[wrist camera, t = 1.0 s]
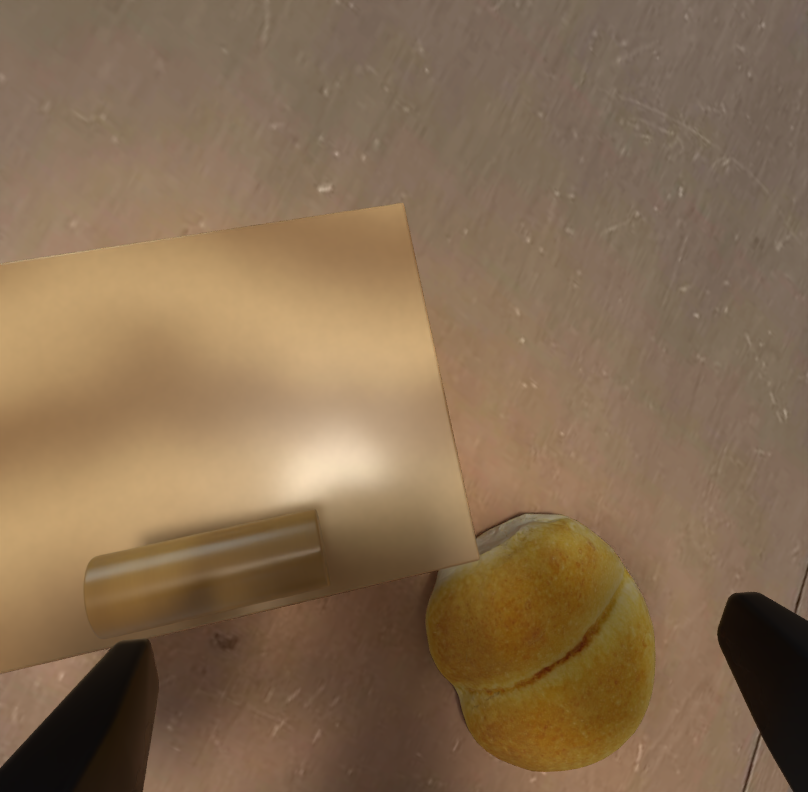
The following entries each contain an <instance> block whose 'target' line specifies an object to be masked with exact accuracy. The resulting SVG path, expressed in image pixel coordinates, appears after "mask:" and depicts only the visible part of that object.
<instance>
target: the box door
mask: <svg viewBox="0 0 808 792" xmlns="http://www.w3.org/2000/svg"><path fill="white" fill-rule="evenodd" d="M478 560H480V556H479V551H478V546H477V542H476V537H475V532H474V528H473V523H472V518H471V514H470V509H469V504H468V500H467V495H466V490H465V486H464V481H463V477H462V472H461V467H460V463H459V458H458V453H457V449H456V444H455V439H454V435H453V430H452V425H451V421H450V416H449V411H448V407H447V402H446V397H445V393H444V388H443V384H442V379H441V374H440V370H439V365H438V360H437V356H436V351H435V346H434V342H433V337H432V332H431V328H430V323H429V318H428V314H427V309H426V304H425V300H424V295H423V291H422V286H421V281H420V277H419V272H418V267H417V263H416V258H415V253H414V249H413V244H412V239H411V235H410V230H409V225H408V221H407V216H406V211H405V207H404V204H403V203H399V204H392V205H385V206H379V207H372V208H365V209H359V210H352V211H346V212H339V213H332V214H326V215H319V216H312V217H306V218H299V219H292V220H286V221H279V222H273V223H266V224H259V225H253V226H246V227H239V228H233V229H226V230H220V231H213V232H206V233H200V234H193V235H186V236H180V237H173V238H166V239H160V240H153V241H147V242H140V243H133V244H127V245H120V246H113V247H107V248H100V249H94V250H87V251H80V252H74V253H67V254H60V255H54V256H47V257H40V258H34V259H27V260H21V261H14V262H7V263H1V264H0V674H2V673H7V672H11V671H15V670H19V669H24V668H28V667H32V666H36V665H40V664H45V663H49V662H53V661H57V660H62V659H66V658H70V657H74V656H78V655H83V654H87V653H91V652H95V651H100V650H104V649H108V648H112V647H113V646H114V645H115V644H116V643H117V642H119V641H121V640H129V639H142V638H145V639H150V638H154V637H159V636H163V635H167V634H171V633H176V632H180V631H184V630H188V629H192V628H197V627H201V626H205V625H209V624H214V623H218V622H222V621H226V620H230V619H235V618H239V617H243V616H247V615H252V614H256V613H260V612H264V611H268V610H273V609H277V608H281V607H285V606H290V605H294V604H298V603H302V602H306V601H311V600H315V599H319V598H323V597H328V596H332V595H336V594H340V593H344V592H349V591H353V590H357V589H361V588H366V587H370V586H374V585H378V584H382V583H387V582H391V581H395V580H399V579H404V578H408V577H412V576H416V575H420V574H425V573H429V572H433V571H437V570H442V569H446V568H450V567H454V566H458V565H463V564H467V563H471V562H475V561H478Z"/></svg>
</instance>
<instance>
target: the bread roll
mask: <svg viewBox="0 0 808 792" xmlns="http://www.w3.org/2000/svg"><path fill="white" fill-rule="evenodd" d="M476 542H477V546H478V551H479V556H480V560H478V561H475V562H471V563H467V564H463V565H458V566H454V567H450V568H446V569H442V570H438V574H437V579H436V582H435V586H434V589H433V591H432V594H431V597H430V600H429V602H428V606H427V611H426V618H425V619H426V632H427V638H428V645H429V649H430V653H431V656H432V658H433V660H434V662H435V664H436V666H437V668H438V670H439V671H440V672H441V673H442V674H443V676H444V677H445V678H446V679H447V680H448V681H449V682H450V683H452V684H453V686H454V687H455V689H456V691H457V693H458V696H459V699H460V703H461V708H462V712H463V715H464V718H465V721H466V724H467V727H468V729H469V731H470V733H471V734H472V736H473V737H474V739H475V740H476V742H477V743H478V744H479V745H480V746H481V747H483V748H484V749H485V750H486V751H487V752H488V753H490V754H492V755H493V756H495V757H496V758H498V759H500V760H502V761H505V762H507V763H510V764H512V765H515V766H518V767H521V768H524V769H527V770H531V771H539V772H552V771H565V770H572V769H577V768H581V767H585V766H588V765H591V764H593V763H596V762H598V761H600V760H602V759H604V758H606V757H607V756H609V755H611V754H612V753H613V752H615V751H616V750H618V749H619V748H620V747H621V746H622V745H623V744H624V743H625V742H626V741H627V740H628V739H629V738H630V737H631V736H632V735H633V734H634V732H635V731H636V729H637V728H638V726H639V724H640V723H641V721H642V719H643V717H644V715H645V712H646V710H647V708H648V705H649V701H650V698H651V695H652V690H653V684H654V676H655V639H654V630H653V624H652V621H651V618H650V615H649V611H648V608H647V605H646V603H645V600H644V598H643V596H642V594H641V592H640V591H639V589H638V587H637V585H636V583H635V582H634V580H633V579H632V577H631V576H630V575H629V573H628V572H627V570H626V568H625V567H624V565H623V563H622V562H621V560H620V559H619V557H618V556H617V555H616V553H615V552H614V550H613V549H612V548H611V547H610V546H609V545H608V544H607V543H605V542H604V541H603V540H602V539H601V538H600V537H598V536H597V535H596V534H595V533H593V532H592V531H591V530H590V529H588V528H587V527H586V526H584V525H583V524H581V523H580V522H578V521H577V520H573V519H571V518H569V517H567V516H564V515H550V514H523V515H521V516H519V517H516V518H514V519H512V520H509V521H507V522H505V523H503V524H501V525H499V526H496V527H494V528H492V529H490V530H488V531H486V532H484V533H483V534H481V535H480V536H479V537H477V538H476Z"/></svg>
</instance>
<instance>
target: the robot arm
mask: <svg viewBox="0 0 808 792" xmlns="http://www.w3.org/2000/svg"><path fill="white" fill-rule="evenodd" d="M717 636H718V641H719V645H720V647H721V650H722V652H723V654H724V656H725V658H726V660H727V663H728V665H729V667H730V669H731V671H732V673H733V676H734V678H735V680H736V682H737V684H738V686H739V689H740V691H741V693H742V695H743V697H744V699H745V702H746V704H747V706H748V708H749V710H750V712H751V715H752V717H753V719H754V721H755V723H756V725H757V727H758V729H759V731H760V733H761V735H762V737H763V739H764V741H765V743H766V745H767V747H768V749H769V750H770V752H771V754H772V756H773V758H774V759H775V761H776V763H777V764H778V766H779V768H780V770H781V771H782V773H783V775H784V777H785V778H786V780H787V782H788V784H789V785H790V787H791V789H792V791H793V792H808V621H807V620H805V619H804V618H802V617H800V616H799V615H797V614H795V613H793V612H792V611H790V610H788V609H786V608H785V607H783V606H781V605H780V604H778V603H776V602H774V601H773V600H771V599H769V598H768V597H766V596H764V595H762V594H760V593H757V592H744V593H734V594H732V595H731V596H730V597H729V598H728V600H727V603H726V606H725V609H724V612H723V615H722V618H721V621H720V624H719V627H718V632H717ZM158 690H159V679H158V673H157V669H156V664H155V659H154V654H153V650H152V645H151V643H150V641H149V640H148V639H145V638H142V639H129V640H121V641H119V642H117V643H116V644H115V645H114V646H113V647H112V648H111V649H110V650H109V651H108V652H107V653H106V654H105V656H104V657H103V658H102V659H101V660H100V661H99V662H98V663H97V664H96V665H95V666H94V667H93V668H92V670H91V671H90V672H89V673H88V674H87V675H86V676H85V677H84V678H83V679H82V680H81V681H80V682H79V684H78V685H77V686H76V687H75V688H74V689H73V690H72V691H71V692H70V693H69V694H68V695H67V697H66V698H65V699H64V700H63V701H62V702H61V703H60V704H59V705H58V706H57V707H56V708H55V709H54V711H53V712H52V713H51V714H50V715H49V716H48V717H47V718H46V719H45V720H44V721H43V722H42V724H41V725H40V726H39V727H38V728H37V729H36V730H35V731H34V732H33V733H32V734H31V735H30V736H29V738H28V739H27V740H26V741H25V742H24V743H23V744H22V745H21V746H20V747H19V748H18V749H17V750H16V752H15V753H14V754H13V755H12V756H11V757H10V758H9V759H8V760H7V761H6V762H5V763H4V765H3V766H2V767H1V768H0V792H143V786H144V780H145V774H146V768H147V761H148V755H149V749H150V743H151V736H152V730H153V724H154V717H155V711H156V705H157V699H158Z"/></svg>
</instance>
